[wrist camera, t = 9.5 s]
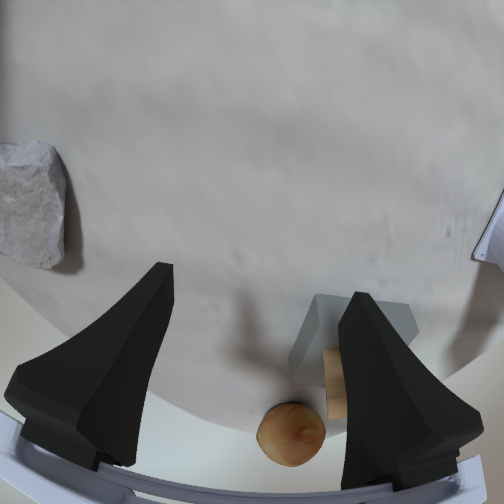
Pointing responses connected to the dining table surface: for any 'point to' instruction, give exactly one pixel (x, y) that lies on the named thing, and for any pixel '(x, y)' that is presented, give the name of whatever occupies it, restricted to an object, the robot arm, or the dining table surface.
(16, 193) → the stone block
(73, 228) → the dining table surface
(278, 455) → the onion
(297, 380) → the slate block
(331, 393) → the oak cube
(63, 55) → the dining table surface
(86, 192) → the dining table surface
